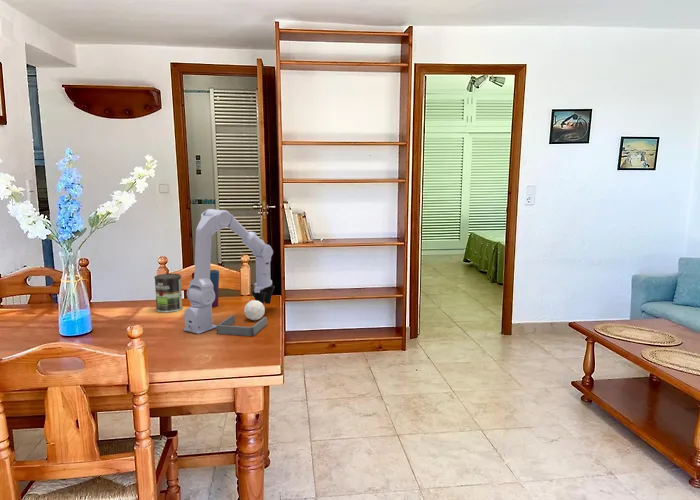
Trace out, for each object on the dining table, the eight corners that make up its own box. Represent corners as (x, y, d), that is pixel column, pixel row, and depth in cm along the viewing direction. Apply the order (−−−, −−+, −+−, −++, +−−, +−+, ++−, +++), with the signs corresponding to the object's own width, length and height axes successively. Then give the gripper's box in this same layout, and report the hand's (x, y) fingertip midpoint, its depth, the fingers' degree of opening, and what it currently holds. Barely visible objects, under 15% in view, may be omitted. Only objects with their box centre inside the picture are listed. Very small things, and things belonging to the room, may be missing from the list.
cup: (217, 307, 211) (216, 272, 208) (201, 307, 211) (200, 272, 208) (222, 303, 217) (220, 269, 215) (206, 303, 217) (205, 269, 215)
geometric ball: (255, 324, 197) (260, 305, 201) (265, 322, 191) (270, 302, 194) (238, 317, 193) (244, 298, 197) (247, 314, 187) (253, 295, 191)
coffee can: (172, 313, 202) (170, 279, 200) (151, 311, 205) (148, 277, 203) (187, 307, 212) (186, 274, 210) (167, 305, 215) (165, 272, 213)
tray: (253, 336, 175) (252, 327, 175) (216, 333, 178) (216, 325, 177) (266, 324, 188) (266, 316, 188) (232, 322, 191) (232, 314, 190)
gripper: (260, 269, 210) (261, 300, 212) (246, 276, 196) (247, 310, 198) (276, 269, 208) (277, 301, 210) (263, 277, 194) (264, 311, 196)
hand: (264, 305), depth 204 cm, fingers open, 7 cm apart
